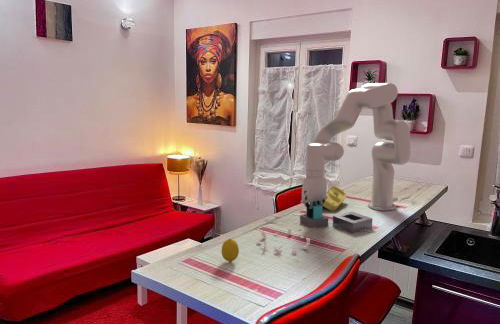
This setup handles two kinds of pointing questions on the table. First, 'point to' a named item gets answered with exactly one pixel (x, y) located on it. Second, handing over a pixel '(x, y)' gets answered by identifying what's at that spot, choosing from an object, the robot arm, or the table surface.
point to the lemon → (230, 250)
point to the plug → (316, 211)
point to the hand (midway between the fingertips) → (314, 215)
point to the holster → (314, 221)
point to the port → (352, 222)
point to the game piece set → (281, 246)
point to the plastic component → (334, 198)
